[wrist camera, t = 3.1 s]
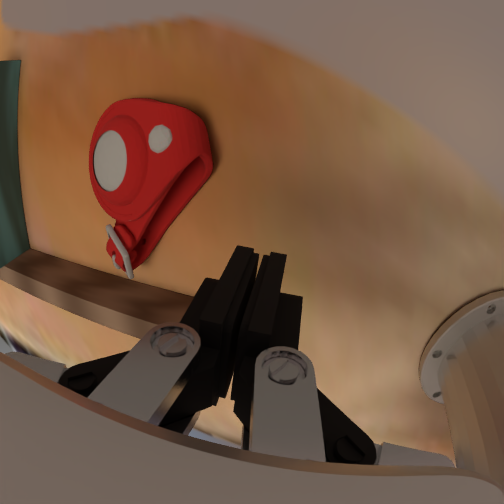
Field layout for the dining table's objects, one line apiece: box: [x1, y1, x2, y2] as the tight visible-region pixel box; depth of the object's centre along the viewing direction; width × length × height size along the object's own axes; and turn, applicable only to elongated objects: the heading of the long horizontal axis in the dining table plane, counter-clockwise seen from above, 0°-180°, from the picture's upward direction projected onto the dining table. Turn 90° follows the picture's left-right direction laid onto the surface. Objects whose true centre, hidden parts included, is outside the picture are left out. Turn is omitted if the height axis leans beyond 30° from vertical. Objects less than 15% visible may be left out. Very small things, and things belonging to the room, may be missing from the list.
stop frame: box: [0, 60, 194, 339], centre depth 18 cm, size 25×21×6 cm
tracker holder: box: [89, 98, 213, 279], centre depth 19 cm, size 12×4×10 cm
